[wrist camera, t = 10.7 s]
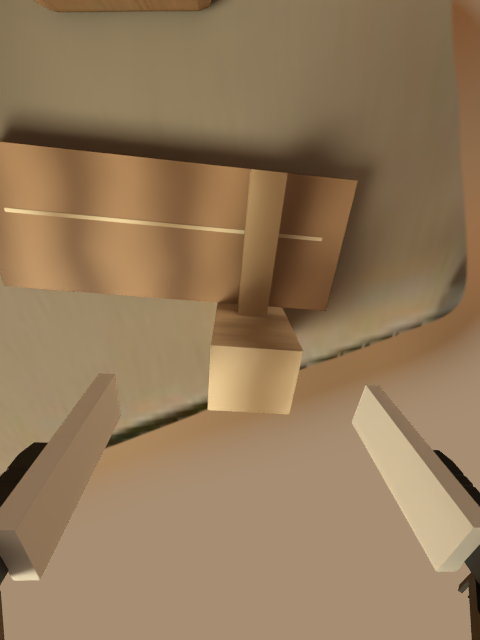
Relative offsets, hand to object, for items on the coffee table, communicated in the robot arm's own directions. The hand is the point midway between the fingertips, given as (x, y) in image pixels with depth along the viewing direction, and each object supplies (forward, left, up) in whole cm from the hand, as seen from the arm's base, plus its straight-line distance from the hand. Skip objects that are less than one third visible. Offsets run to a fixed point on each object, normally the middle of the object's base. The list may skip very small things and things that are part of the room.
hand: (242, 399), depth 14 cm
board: (-6, +7, -10) cm, 14 cm away
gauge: (+1, +4, -10) cm, 11 cm away
